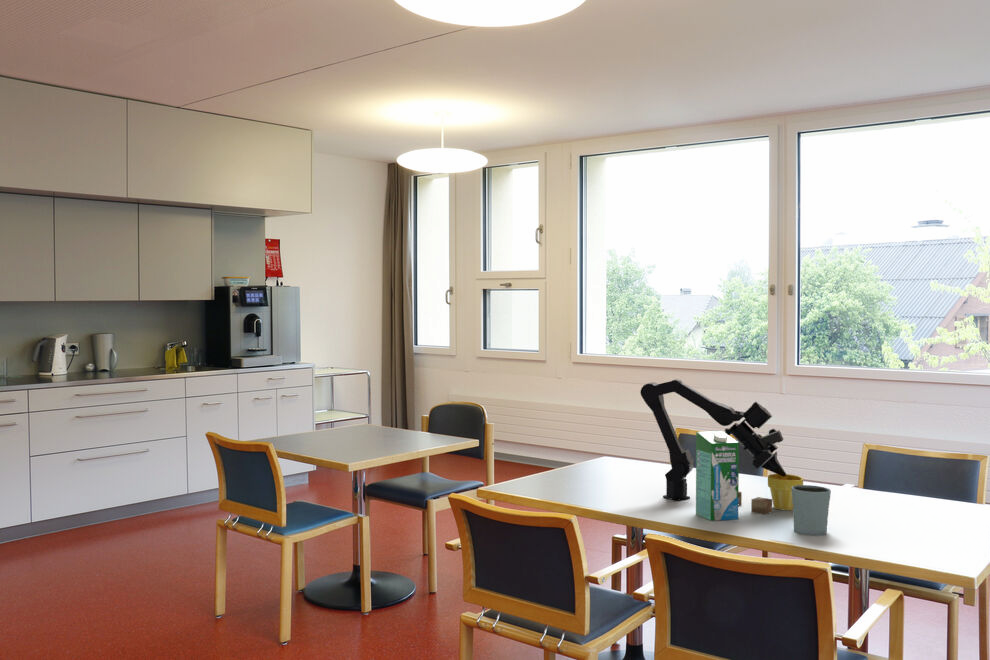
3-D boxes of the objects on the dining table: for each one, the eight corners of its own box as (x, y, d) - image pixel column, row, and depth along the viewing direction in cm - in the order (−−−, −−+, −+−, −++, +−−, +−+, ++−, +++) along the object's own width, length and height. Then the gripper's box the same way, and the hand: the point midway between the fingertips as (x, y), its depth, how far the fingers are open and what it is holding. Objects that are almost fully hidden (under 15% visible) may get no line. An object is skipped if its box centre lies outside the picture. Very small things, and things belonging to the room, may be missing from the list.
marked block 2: (765, 514, 245) (765, 501, 245) (751, 512, 248) (751, 498, 248) (772, 512, 248) (772, 498, 248) (758, 509, 251) (758, 496, 251)
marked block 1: (728, 505, 257) (728, 492, 257) (721, 502, 261) (721, 489, 261) (741, 504, 258) (741, 491, 258) (733, 501, 263) (733, 488, 263)
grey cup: (784, 531, 226) (785, 488, 225) (801, 524, 233) (801, 483, 232) (820, 538, 218) (821, 493, 218) (836, 531, 225) (836, 488, 225)
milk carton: (711, 521, 237) (711, 435, 236) (695, 513, 245) (696, 431, 245) (738, 519, 239) (739, 434, 239) (722, 512, 248) (722, 430, 247)
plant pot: (778, 512, 247) (779, 480, 247) (760, 504, 257) (761, 473, 257) (809, 511, 249) (810, 479, 249) (790, 503, 259) (791, 473, 259)
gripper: (763, 424, 246) (802, 463, 242) (770, 418, 263) (807, 454, 259) (737, 449, 250) (774, 487, 245) (745, 441, 267) (781, 477, 262)
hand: (785, 475), depth 253 cm, fingers closed, pressing on plant pot
